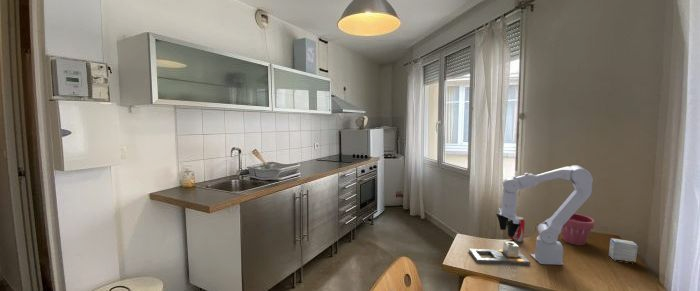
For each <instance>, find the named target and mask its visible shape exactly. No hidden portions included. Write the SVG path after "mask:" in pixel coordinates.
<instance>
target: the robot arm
mask: <svg viewBox="0 0 700 291" xmlns="http://www.w3.org/2000/svg"><path fill="white" fill-rule="evenodd" d="M556 179H562V180H566V181H571V183H572V185H573V189H574V190H573V191H572V192H571V193H570V195H569V196H568V197H567V198H566V199H565V200H564V202H563V203H562V204H561V205H560V206H559V207H558V209H557V210H556V211H555V212H554V213H553V214H552V215H551V217H549V218H546V219H545V221H543V222H541V223H539V224H538V225H537V226H536V231H537V233H538V236H537V237H536V240H535V251H534V252H535V253H530V256H531V257H532V258H533V259H534V260H536V261H537V262H538V263H539V264H541V265H557V266H558V265H559V266H564V263H563V255H564V247H563V245H562V243H561V242H560V241H559V240H558V239H559V238H558V237H559V235H560V234H562V232H561V229H562V226H563V225H564V224H565V223H566V222H567V221H568V220H569V219H570V217H571V216H572V215H573V214H574V213H575V214H576V212H577V211H578V210H579V209H580V207H581V206H582V205H584V203H585V202H586V201H587V200H588V198H589V197H590V196H591V195H592V192H593V181H594V178H593V176H592V174H591V172H590V171H589V170H587V169H586V168H584V167H582V166H581V165H576V164H573V165H570V166H563V167H560V168H556V169H553V170H550V171H545V172H542V173H540V174H533V173H528V172H525V173H524V174H523V175H520V176H512V177H507V178H505V179H504V180H503V182H502V186H503V190H502V192H503V193H502V197H501V198H502V200H501V208H500V207H499V208H498V213H496V217H497V220H498V224H499V229H500V231H501V230H502V231H504V230H505V231H506V229H507V236H508V238H509V237H514V235H515V232H516V230H517V228H518V227H519V226H520V224H521V223H519V219H518V218H517V216H518V215H517V214H516V213H517V203H518V202H517V200H518V199H517V198H518V195H517V193H518V191H519V190H524V189H528V188H534V187H537V185H538V184H539V183H543V182H548V181H552V180H556Z"/></svg>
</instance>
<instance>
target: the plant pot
mask: <svg viewBox="0 0 700 291" xmlns="http://www.w3.org/2000/svg"><path fill="white" fill-rule="evenodd" d="M593 229H595V220H594V219H593V218H592V217H589V216H587V215H583V214H579V213H576V212H575V213H574V214H573V215H572V216H571V217H570V219H569V220H568V221H567V222H566V223H565V224H564V225H563V226H562V229H561V237H562V240H563V241H564V242H566V243H569V244H571V245H575V246H576V245H577V246H584V245H586V242H587V239H588V238H589V236H590V234H591V232H592V231H591V230H593Z"/></svg>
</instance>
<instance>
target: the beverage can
mask: <svg viewBox="0 0 700 291" xmlns="http://www.w3.org/2000/svg"><path fill="white" fill-rule="evenodd" d="M516 216H517V218H518V219H519V223H521V224H520V226H519V227H518V228H517V230H516V232H515V235H514V237H509V236H508V238H509V239H510V240H512V241H513V240H514V241H513V242H515V243H516V242H517V243H519V242H523V241H524V237H525V236H524V234H525V224H526V222H525V221H526V220H525V219H524V217H522V216H520V215H516Z"/></svg>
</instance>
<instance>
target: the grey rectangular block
mask: <svg viewBox="0 0 700 291" xmlns="http://www.w3.org/2000/svg"><path fill="white" fill-rule="evenodd" d="M519 249H520V246H519V245H518V244H517V243H516V242H515V241H503V244H502V250H503V255H504V256H505V257H506V258H507V259H518V251H519ZM519 252H520V251H519Z"/></svg>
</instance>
